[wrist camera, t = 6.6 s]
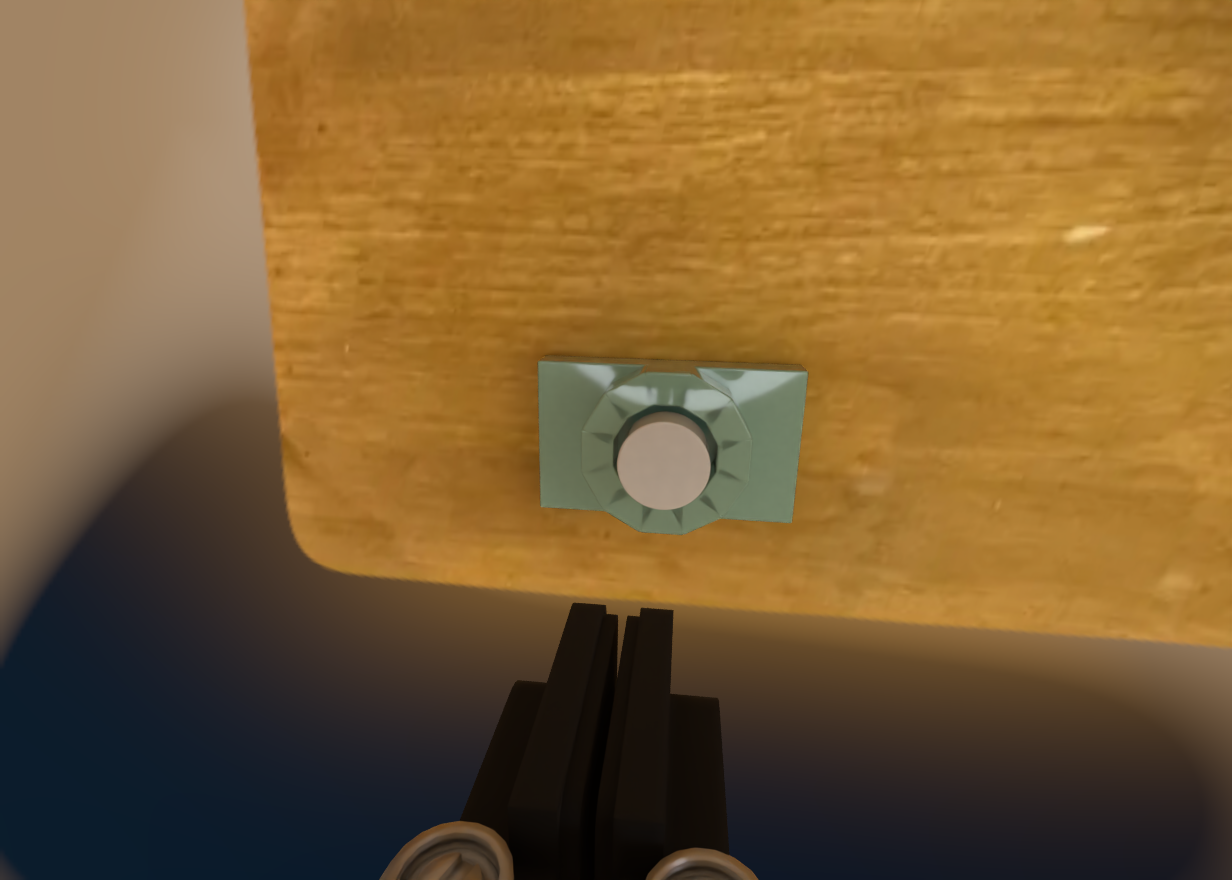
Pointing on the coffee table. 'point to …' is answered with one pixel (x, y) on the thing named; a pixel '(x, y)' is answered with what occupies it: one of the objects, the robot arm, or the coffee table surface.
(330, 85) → the coffee table surface
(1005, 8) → the coffee table surface
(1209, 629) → the coffee table surface
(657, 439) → the beige push button
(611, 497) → the green push button base
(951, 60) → the coffee table surface
